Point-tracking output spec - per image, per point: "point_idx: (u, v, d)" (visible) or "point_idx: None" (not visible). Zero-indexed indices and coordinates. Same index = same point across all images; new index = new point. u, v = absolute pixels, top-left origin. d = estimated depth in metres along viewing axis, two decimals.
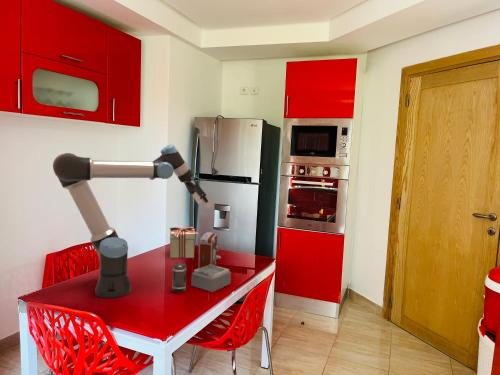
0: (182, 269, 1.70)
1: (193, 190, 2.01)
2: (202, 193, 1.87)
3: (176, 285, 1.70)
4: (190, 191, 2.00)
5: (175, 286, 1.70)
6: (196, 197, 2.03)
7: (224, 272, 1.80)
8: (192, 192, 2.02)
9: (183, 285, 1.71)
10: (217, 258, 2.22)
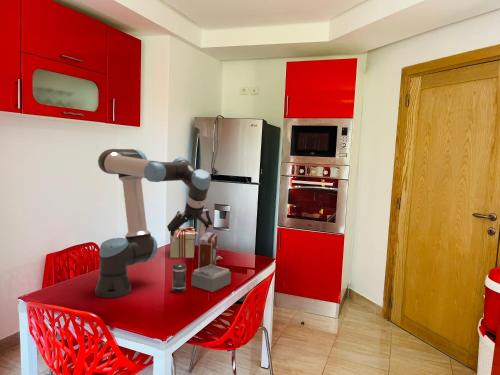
0: (182, 269, 1.70)
1: (203, 223, 1.66)
2: (169, 226, 1.58)
3: (176, 285, 1.70)
4: None
5: (175, 286, 1.70)
6: (202, 228, 1.69)
7: (224, 272, 1.80)
8: None
9: (183, 285, 1.71)
10: (218, 258, 2.21)
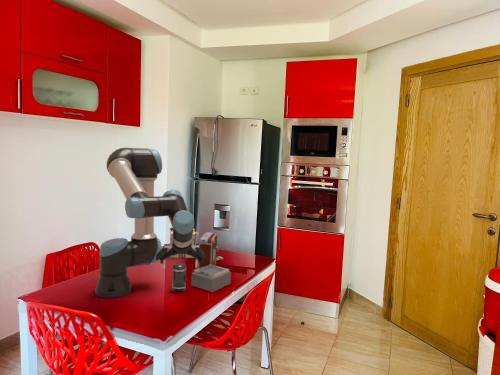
0: (182, 269, 1.70)
1: None
2: (157, 255, 1.52)
3: (176, 285, 1.70)
4: None
5: (175, 286, 1.70)
6: None
7: (224, 272, 1.80)
8: None
9: (183, 285, 1.71)
10: (219, 259, 2.20)
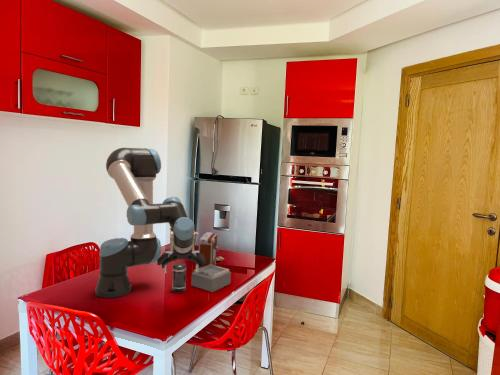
0: (182, 269, 1.70)
1: None
2: (158, 260, 1.56)
3: (176, 285, 1.70)
4: None
5: (175, 286, 1.70)
6: (196, 265, 1.63)
7: (224, 272, 1.80)
8: None
9: (183, 285, 1.71)
10: (219, 259, 2.20)
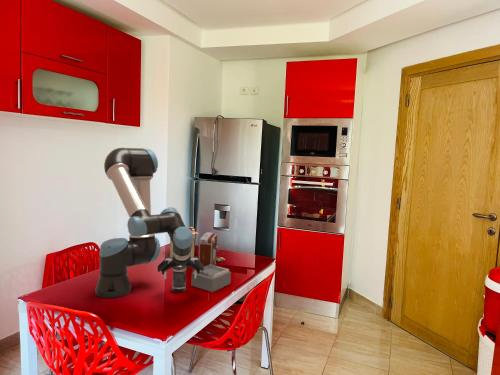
0: (182, 269, 1.70)
1: None
2: (158, 267, 1.63)
3: (176, 285, 1.70)
4: (194, 264, 1.67)
5: (175, 286, 1.70)
6: None
7: (224, 272, 1.80)
8: None
9: (183, 285, 1.71)
10: (220, 260, 2.19)
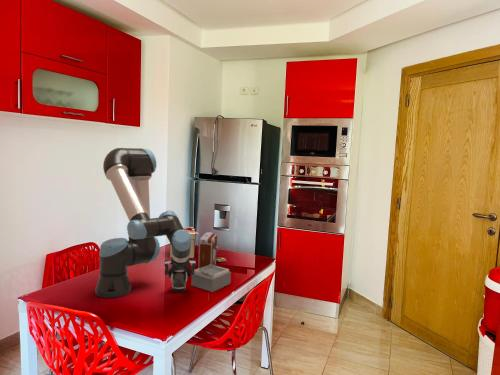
0: (182, 269, 1.70)
1: (186, 271, 1.70)
2: None
3: (176, 285, 1.70)
4: None
5: (175, 286, 1.70)
6: None
7: (224, 272, 1.80)
8: None
9: (183, 285, 1.71)
10: (221, 260, 2.18)
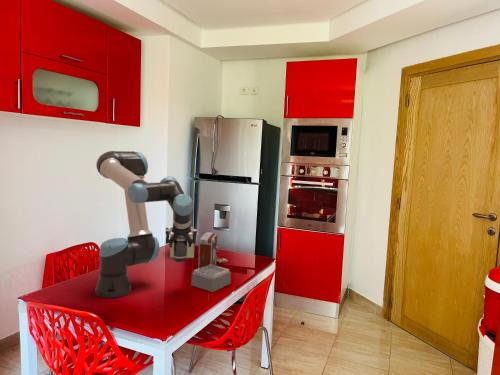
0: (183, 238, 1.68)
1: None
2: None
3: (177, 254, 1.69)
4: None
5: (176, 255, 1.69)
6: None
7: (224, 272, 1.80)
8: None
9: (184, 254, 1.70)
10: (222, 261, 2.16)
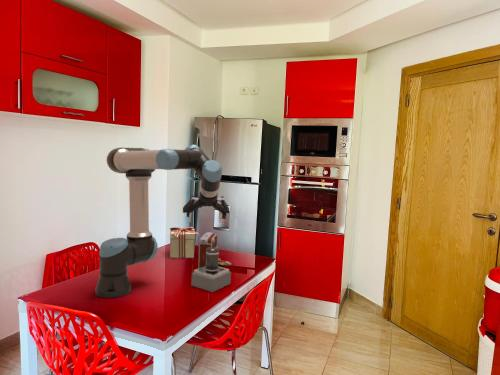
0: (215, 252, 1.78)
1: None
2: (184, 208, 1.61)
3: (209, 268, 1.78)
4: None
5: (208, 269, 1.78)
6: (219, 214, 1.68)
7: (224, 272, 1.80)
8: None
9: (216, 268, 1.79)
10: (224, 264, 2.11)
